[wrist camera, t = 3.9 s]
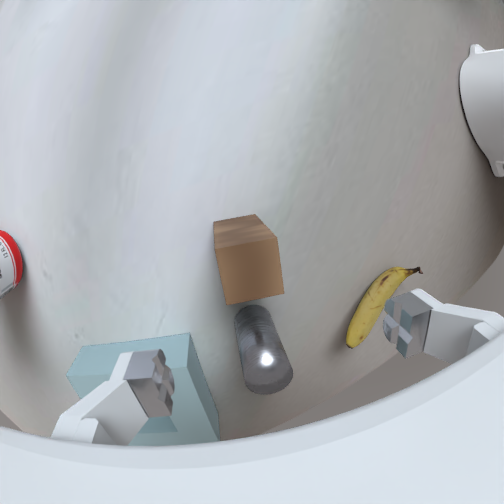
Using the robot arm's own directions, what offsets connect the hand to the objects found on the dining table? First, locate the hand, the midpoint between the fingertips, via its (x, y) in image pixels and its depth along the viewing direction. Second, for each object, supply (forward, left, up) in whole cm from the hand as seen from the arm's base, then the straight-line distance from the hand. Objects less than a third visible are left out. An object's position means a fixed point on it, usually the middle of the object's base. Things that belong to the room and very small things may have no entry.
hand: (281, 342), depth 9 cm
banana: (-12, +8, -15) cm, 21 cm away
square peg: (0, 0, -15) cm, 15 cm away
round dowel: (0, +8, -15) cm, 17 cm away
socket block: (+12, +14, -15) cm, 24 cm away
